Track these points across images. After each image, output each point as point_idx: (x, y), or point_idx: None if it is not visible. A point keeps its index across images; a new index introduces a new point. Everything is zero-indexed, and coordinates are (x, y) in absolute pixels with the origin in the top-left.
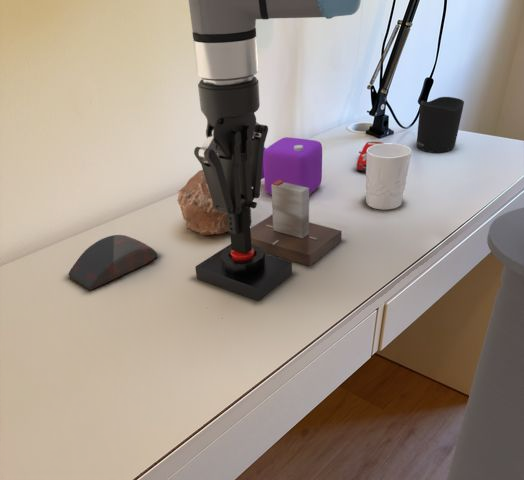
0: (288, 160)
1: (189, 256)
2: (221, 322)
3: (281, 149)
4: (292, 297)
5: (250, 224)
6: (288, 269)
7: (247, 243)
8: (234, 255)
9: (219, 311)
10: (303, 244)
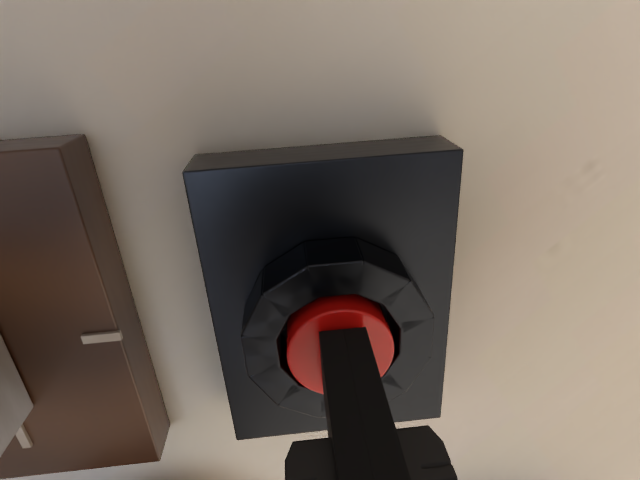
0: None
1: None
2: (613, 150)
3: None
4: (340, 30)
5: (295, 449)
6: (218, 162)
7: (355, 360)
8: (391, 355)
9: (556, 203)
10: (8, 239)
